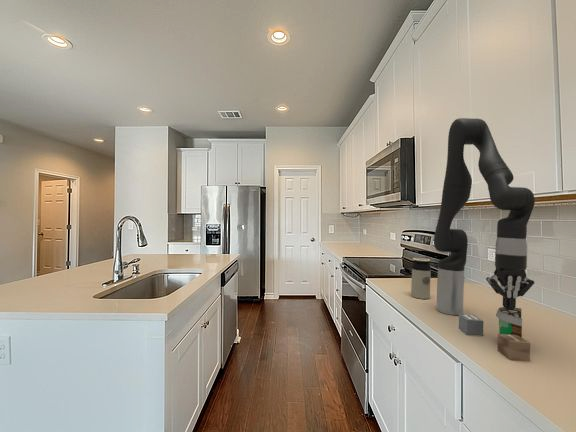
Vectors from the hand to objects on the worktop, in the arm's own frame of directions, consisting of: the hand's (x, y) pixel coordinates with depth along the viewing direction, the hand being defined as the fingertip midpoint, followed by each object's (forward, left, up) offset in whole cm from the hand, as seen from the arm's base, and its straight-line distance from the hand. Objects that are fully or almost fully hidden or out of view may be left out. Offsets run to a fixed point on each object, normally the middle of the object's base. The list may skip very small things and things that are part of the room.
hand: (508, 309), depth 85 cm
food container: (0, 0, -11) cm, 11 cm away
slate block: (-7, -7, -10) cm, 15 cm away
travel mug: (-46, -8, -11) cm, 48 cm away
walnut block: (+8, -4, -10) cm, 14 cm away
